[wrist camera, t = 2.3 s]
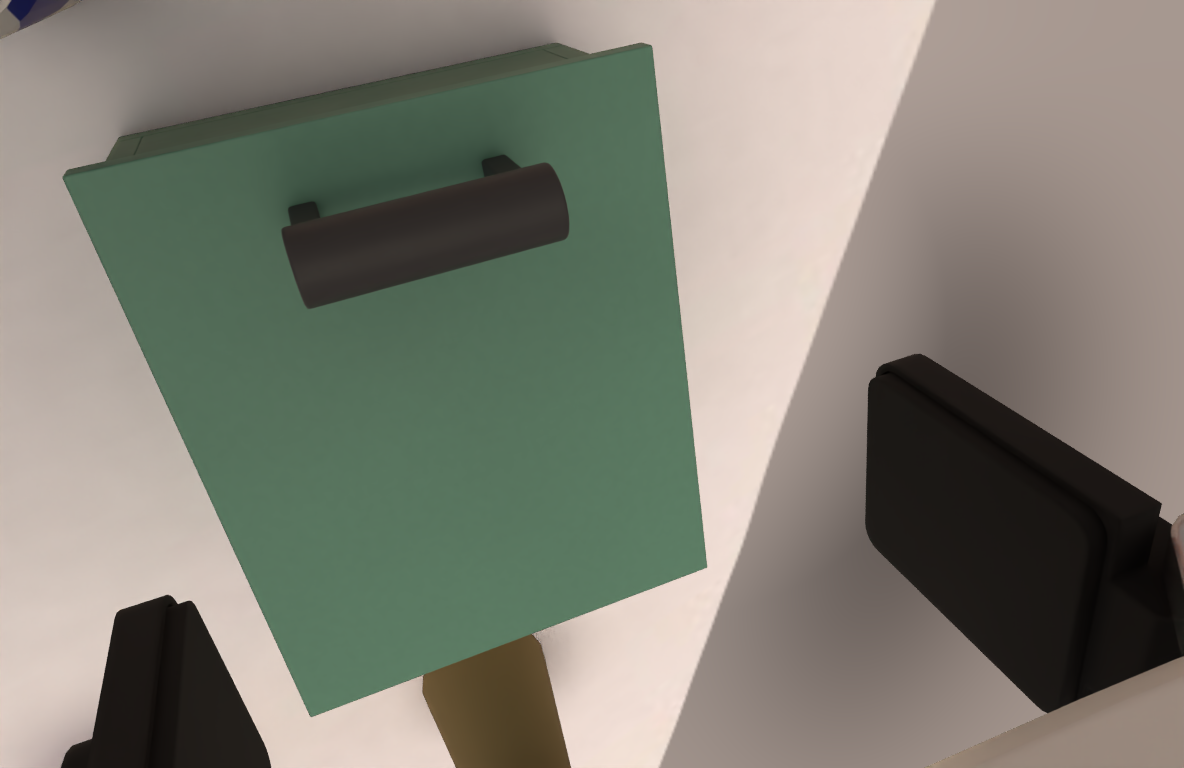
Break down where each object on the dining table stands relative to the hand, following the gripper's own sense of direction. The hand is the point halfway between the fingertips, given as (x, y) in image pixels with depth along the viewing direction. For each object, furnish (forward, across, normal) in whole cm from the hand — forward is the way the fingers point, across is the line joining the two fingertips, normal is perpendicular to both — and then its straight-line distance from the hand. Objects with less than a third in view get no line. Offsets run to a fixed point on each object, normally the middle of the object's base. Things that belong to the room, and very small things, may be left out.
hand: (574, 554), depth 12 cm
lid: (+14, 0, +6) cm, 15 cm away
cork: (+22, +1, +25) cm, 33 cm away
